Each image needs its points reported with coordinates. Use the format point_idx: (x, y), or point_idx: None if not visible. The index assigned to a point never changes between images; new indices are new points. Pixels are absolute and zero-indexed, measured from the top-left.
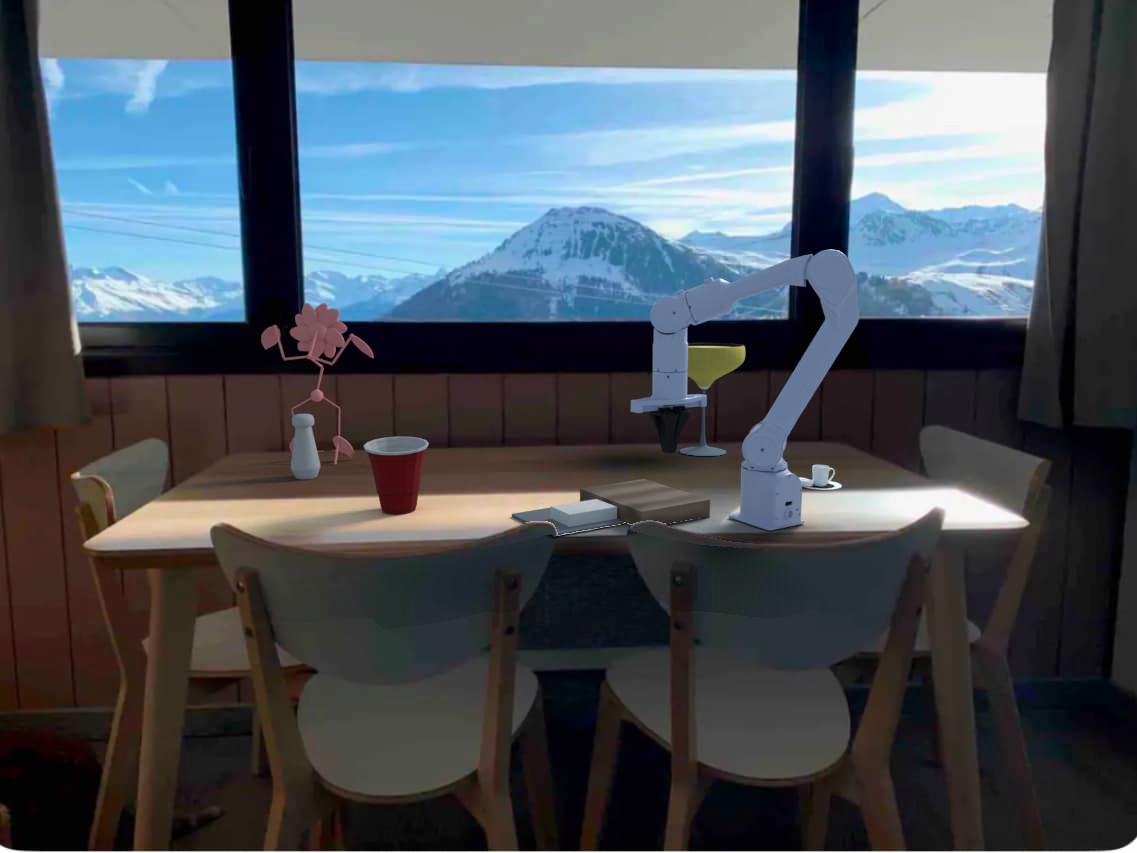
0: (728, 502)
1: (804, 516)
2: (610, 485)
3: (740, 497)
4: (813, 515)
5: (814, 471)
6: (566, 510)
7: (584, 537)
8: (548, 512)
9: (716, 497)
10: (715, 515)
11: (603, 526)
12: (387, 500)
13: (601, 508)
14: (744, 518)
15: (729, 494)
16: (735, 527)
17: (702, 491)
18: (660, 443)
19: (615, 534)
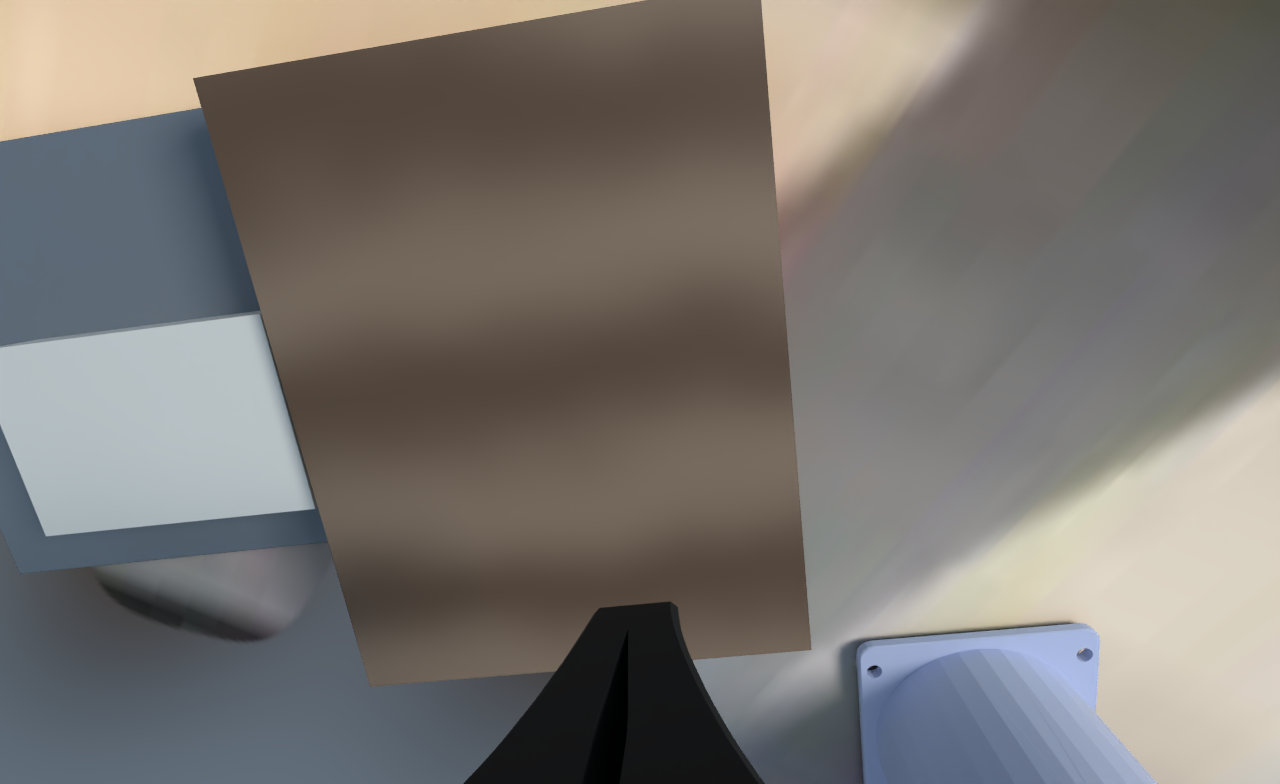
0: (1077, 410)
1: (1184, 752)
2: (427, 81)
3: (938, 750)
4: (1233, 757)
5: None
6: (42, 461)
7: (153, 608)
8: (40, 232)
9: (1105, 285)
10: (838, 578)
11: (255, 547)
12: None
13: (226, 503)
14: (877, 733)
15: (1232, 256)
16: (791, 747)
17: (1148, 107)
18: (568, 655)
19: (285, 626)
